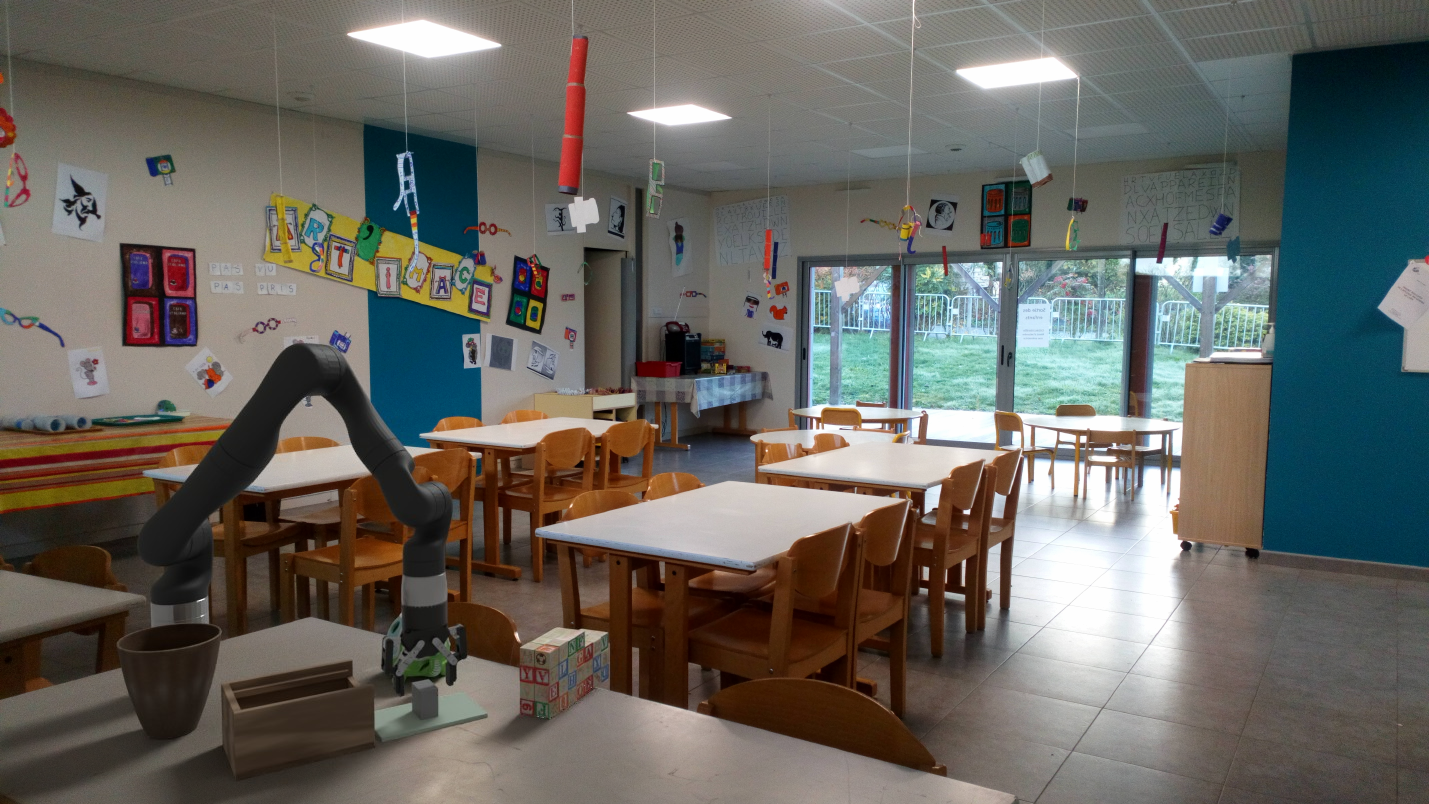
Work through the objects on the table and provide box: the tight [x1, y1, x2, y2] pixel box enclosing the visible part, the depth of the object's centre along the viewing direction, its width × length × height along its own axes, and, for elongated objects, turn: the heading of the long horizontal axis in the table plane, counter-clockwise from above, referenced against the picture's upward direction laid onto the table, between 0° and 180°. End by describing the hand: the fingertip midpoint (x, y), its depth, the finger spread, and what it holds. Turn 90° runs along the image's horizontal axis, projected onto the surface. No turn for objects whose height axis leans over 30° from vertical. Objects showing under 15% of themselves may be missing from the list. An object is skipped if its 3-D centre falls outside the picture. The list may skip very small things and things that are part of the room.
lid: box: [374, 678, 489, 743], centre depth 159 cm, size 12×18×6 cm, turn 125°
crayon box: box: [220, 658, 376, 781], centre depth 147 cm, size 15×20×10 cm
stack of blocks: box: [518, 626, 610, 720], centre depth 169 cm, size 21×6×12 cm, turn 158°
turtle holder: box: [386, 612, 451, 684], centre depth 177 cm, size 12×18×12 cm
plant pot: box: [116, 623, 222, 740], centre depth 152 cm, size 15×15×16 cm
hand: (425, 689), depth 159 cm, fingers open, 8 cm apart
